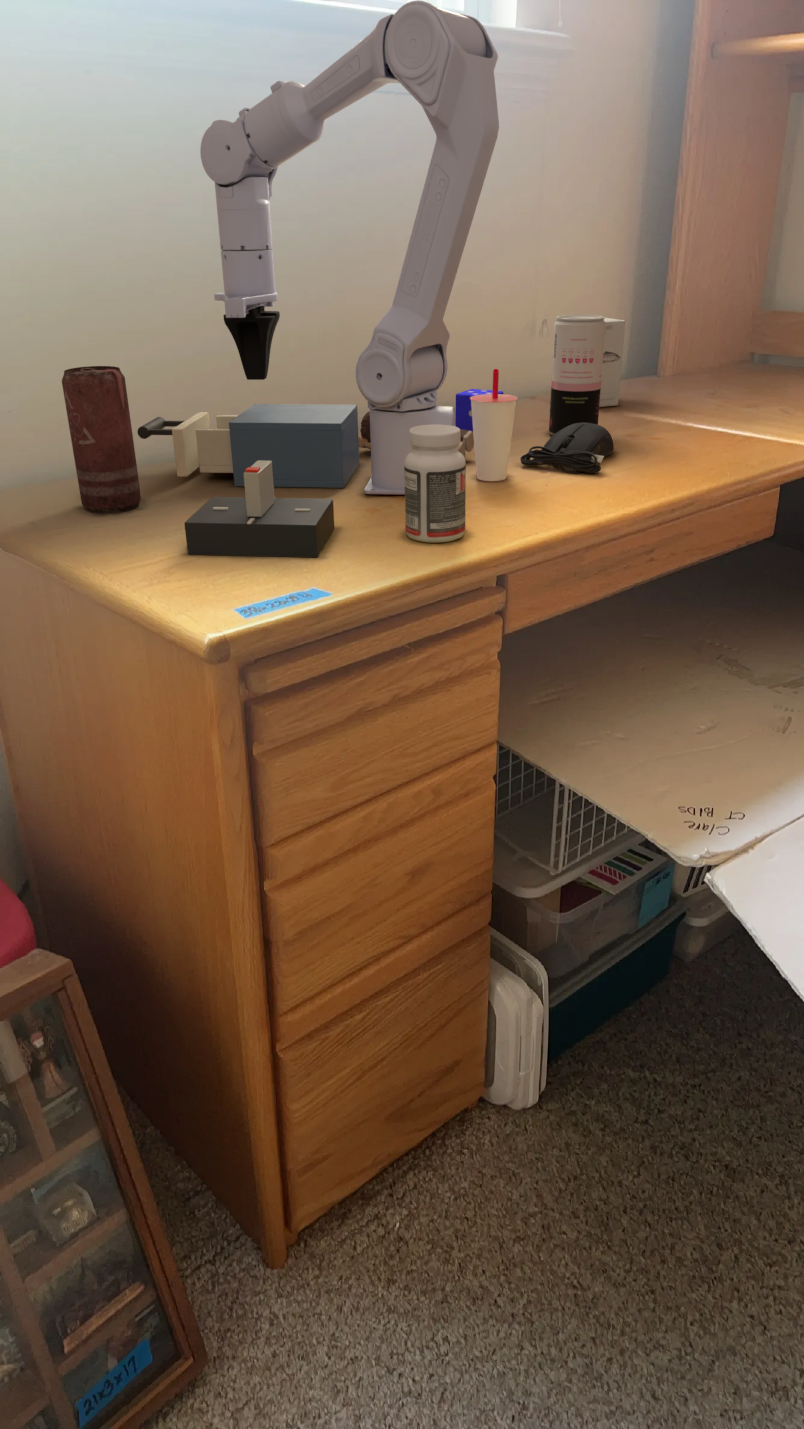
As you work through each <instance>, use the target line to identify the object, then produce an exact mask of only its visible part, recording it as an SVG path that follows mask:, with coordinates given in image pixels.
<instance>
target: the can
mask: <svg viewBox="0 0 804 1429" xmlns="http://www.w3.org/2000/svg"><path fill="white" fill-rule="evenodd" d="M61 384H62V385H61V386H62V391H63V392H62V393H63V398H64V404H65V405H64V406H65V410H66V416H67V424H68V429H69V434H70V440H71V446H72V447H71V448H72V453H73V454H72V455H73V458H74V459H73V460H74V466H75V471H76V479H77V483H78V490H79V496H80V503H81V505H82V506H83V508H84V509H85V510H86V511H87V512H90V513H94V514H116V513H124V512H129V511H131V510H134V509H136V508H137V507H139V506H140V503H141V501H142V494H141V486H140V479H139V471H138V464H137V457H136V450H135V442H134V435H133V428H132V419H131V412H130V406H129V405H130V404H129V398H128V391H127V382H126V377H125V375H124V374H123V373H122V371H121V367H118V366H111V365H91V366H78V367H73V368H68V369H65V370H63V376H62V378H61Z"/></svg>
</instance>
